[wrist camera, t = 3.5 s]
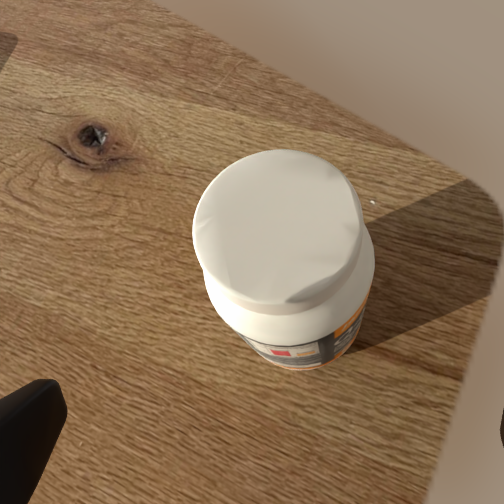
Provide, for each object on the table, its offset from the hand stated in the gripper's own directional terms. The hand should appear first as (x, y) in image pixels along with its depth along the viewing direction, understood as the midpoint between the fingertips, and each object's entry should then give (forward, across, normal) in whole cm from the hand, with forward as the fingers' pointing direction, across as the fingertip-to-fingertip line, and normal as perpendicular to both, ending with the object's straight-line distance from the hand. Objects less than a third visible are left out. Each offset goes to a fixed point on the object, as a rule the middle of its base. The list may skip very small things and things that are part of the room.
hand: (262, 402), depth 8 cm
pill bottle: (+11, 0, +5) cm, 12 cm away
